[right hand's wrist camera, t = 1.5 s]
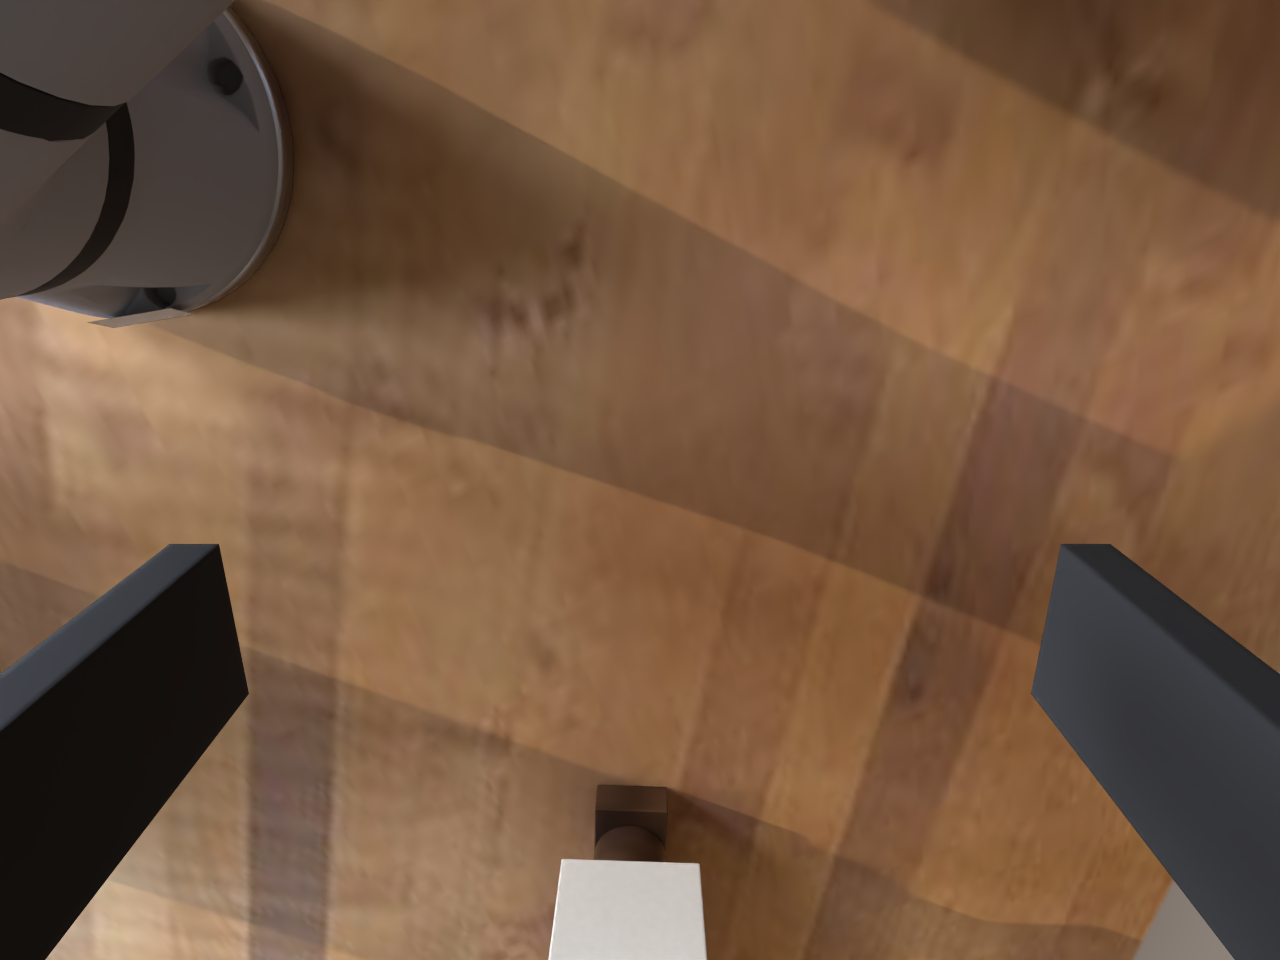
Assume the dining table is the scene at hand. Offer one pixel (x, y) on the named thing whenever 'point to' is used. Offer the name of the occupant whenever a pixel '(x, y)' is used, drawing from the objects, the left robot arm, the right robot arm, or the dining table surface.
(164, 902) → the dining table surface
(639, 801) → the walnut stand
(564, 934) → the cap block
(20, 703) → the right robot arm
